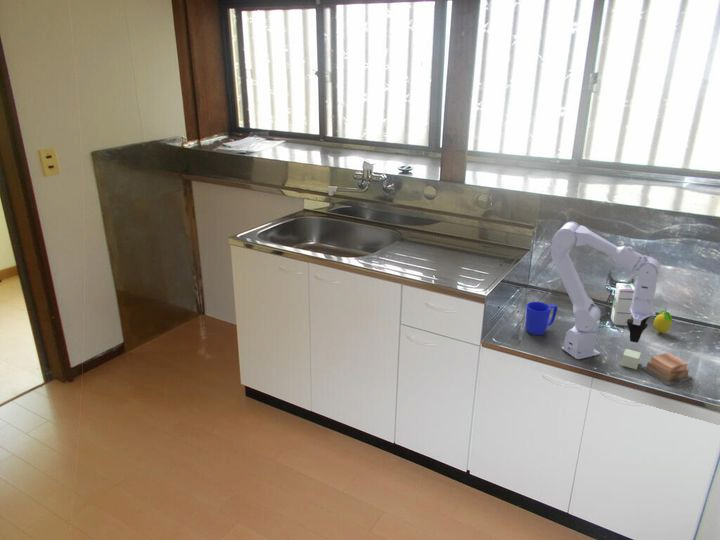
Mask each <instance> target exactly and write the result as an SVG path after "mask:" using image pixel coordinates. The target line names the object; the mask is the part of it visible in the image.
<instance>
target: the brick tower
mask: <svg viewBox="0 0 720 540" xmlns="http://www.w3.org/2000/svg"><path fill="white" fill-rule="evenodd" d="M687 367H688V362H686V361H684V360H682V359H680V358H679V357H678V356H675V355H674V354H672V353H670V352H665V353H662V354H661V353H660V354H657V355H654V356H651V357H650V361H648V362H647V363H646V366H641V367H640V368H641V370H642V371H643V372H644V373H647V374H649V375H650V376H651V377H653V378H654V379H657V381H659V382H661V383H662V382H663V383H662V384H664V383H665V384H664V385H666V386H667V385H669V386H671V385H675V384H680V383H683V382H687V381H690V380H693V377H692V376H691V375H689V371H690V370H689V369H687Z"/></svg>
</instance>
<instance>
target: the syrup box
mask: <svg viewBox="0 0 720 540" xmlns="http://www.w3.org/2000/svg"><path fill="white" fill-rule="evenodd" d="M634 288H635V285H634V284H632V283H628V282H627V283H626V282H625V283H624V282H621V283H619V282H616V286H615V290H614V297H613V302H612V307H611V312H610V319H611V321H612V324H613V325H615V326H622V327H627V326H628V325H627V320H628V319H632V317H633V316H632V314H631V312H630V308H631V305H632V299H633V294H634Z"/></svg>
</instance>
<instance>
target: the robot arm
mask: <svg viewBox="0 0 720 540" xmlns="http://www.w3.org/2000/svg"><path fill="white" fill-rule="evenodd" d="M551 243H552V245H551V249H550V251H551V252H550V257H551V259H552V262H553V264H554V266H555V268H556V270H557V273H558V275H559V277H560V279H561V282H562V283H563V286H564V288H565V290H566V292H567V294H568V297H569V299H570V301H571V303H572V310H573V315H574V326H573V327H572V328H570V329H568V330H567V331H566V333H565V337H564V343H563V346H562V347H561V349H562V350H563V351H565V352H566V353H567V354H569V355H570V356H572V357H573V358H575V359H576V360H581V359H585V358H590V357H594V356H599V355H600V354H601V353H600V351H598V350H597V349H596V345H597V344H596V343H597V339H598V333H599V326H598V321H599V320H600V319H601V317H602V311H601V309H600V307H598V305H596V304H595V303H594V301H593V299H592V298H590V297H589V296H588V294H587V292H586V290H585V288H584V285H583V283H582V281H581V279H580V276H579V274H578V271H577V269H576V268H575V264H574V263H573V260H572V259H571V257H570V255H569V253H570V252H571V250H572V248H573V246H574V245H575V247H582V246H589V247H591V248H594V249H596V250H597V251H599V252H602V253H604V254H606V255H608V256H610V257H612V260H613V263H616V264H617V265H619V266H620V267H623V268H625V269H627V270H628V271H631V272H632V273H635V274H636V276H637V277H636V281H635V285H634V294H633V299H632V305H631V308H630V312H631V314H632V316H631V317H632V318H633V319H632V318H631V319H628V320H627V325H628V330H629V341H630V342H632V343H636V344H638V343H639V341H640V340H641V339H640V338H641V336H642V334H643V332H644V331H645V329H646V328H647V327H648V325H649V324H648V323H646V322H647V321H648V319H649V318H650V317H651V316H652V317H655V316H656V311H653V310H652V309H653V305H654V301H655V297H656V289H657V283H658V278H659V273H660V272H661V264H660V262H659V260H658V259H656V258H655V256H648V255H646V254H644V255H643V254H641V253H639V252H637V251H635V250H633V249H634V247H632V246H630V245H628V246H626V245H622V246H618V245H617V244H614V243H612V242H610V241H608V240H607V239H606V238H604V237H602V236H600V235H599V234H597V233H595V232H593V231H592V230H590V229H588V227H586V226H584V225H580V224H579V223H577V222H575V221H568V222H565V223H564V224H563V225H562V227H560V229H558V230H557V231H556V232H555V233H554V236H553V237H552V238H551Z"/></svg>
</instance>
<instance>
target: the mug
mask: <svg viewBox="0 0 720 540" xmlns="http://www.w3.org/2000/svg"><path fill="white" fill-rule="evenodd" d="M552 309H553V310H552ZM551 310H552V314H551ZM525 312H526V313H525V331H526V332H527V333H528V334H531V335H534V336H542V335H544V334H545V333H546V331H547V327H548V326H551V325H552V324H553V323H554V321H555V319H556V315H557V312H558V306H557V305H556V304H552V305H549V304H547V303H546V302H540V301H531V302H528V303H526V310H525ZM550 314H551V317H550ZM550 318H551V319H550ZM549 319H550V320H549Z"/></svg>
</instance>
